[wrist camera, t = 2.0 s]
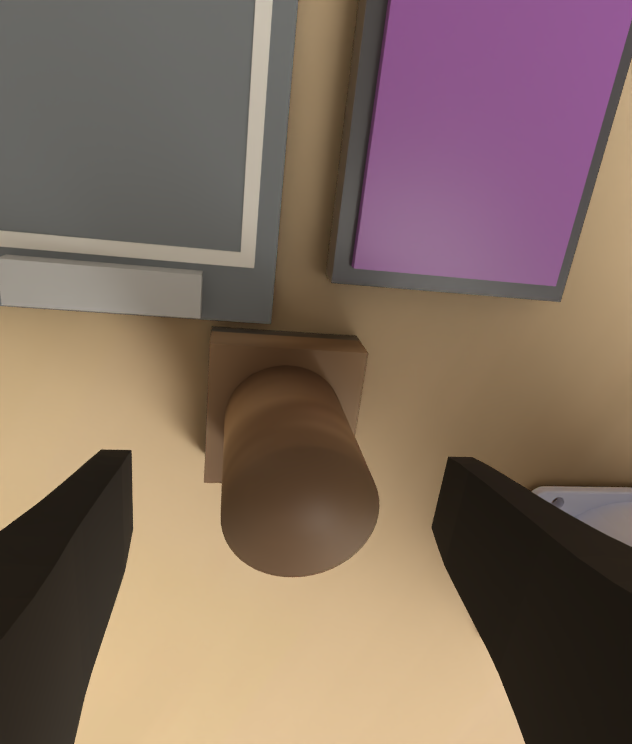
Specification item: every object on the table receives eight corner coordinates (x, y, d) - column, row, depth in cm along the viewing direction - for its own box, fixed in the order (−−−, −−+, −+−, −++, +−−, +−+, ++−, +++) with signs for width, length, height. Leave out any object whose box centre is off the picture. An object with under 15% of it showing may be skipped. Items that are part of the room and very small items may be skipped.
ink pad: (625, -7, 13) (663, -23, 12) (542, 293, 16) (566, 304, 15) (365, -60, 12) (380, -84, 11) (325, 275, 15) (333, 285, 14)
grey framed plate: (310, -157, 11) (316, -182, 11) (270, 321, 15) (272, 330, 15) (-155, -265, 10) (-191, -304, 9) (-65, 298, 14) (-85, 306, 13)
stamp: (355, 335, 16) (418, 426, 11) (337, 457, 18) (384, 591, 12) (212, 326, 15) (199, 419, 10) (206, 454, 17) (193, 596, 11)
